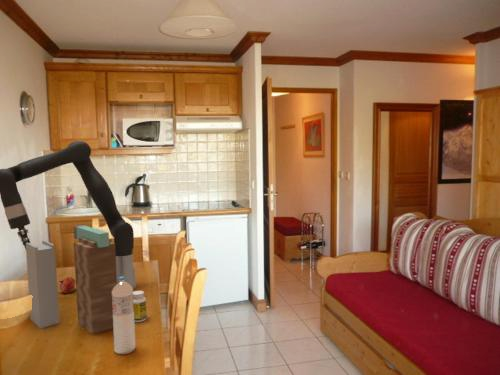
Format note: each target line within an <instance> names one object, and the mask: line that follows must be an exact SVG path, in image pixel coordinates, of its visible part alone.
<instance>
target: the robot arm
mask: <svg viewBox="0 0 500 375" xmlns="http://www.w3.org/2000/svg"><path fill="white" fill-rule="evenodd" d="M91 153H92V149H91V146H90V145H89V144H88V143H87V142H85V141H81V140H76V141H72V142H70V143H68V145H67V146H66V147H64V148H63V149H61V150H57V151H55V152H52V153H48V154H44V155H41V156H37V157H34V158H30V159H27V160H25V161H23V162H20V163H18V164H16V165H13V166H10V167H7V168H0V202H1V204H2V206H3V209H4V214H5V217H6V219H7V220H6V221H7V223H8V226H9V228H10V230H15V229H18V232H17V236H18V237H19V240H20V241H21V242H20V243H22V246H23V247H24V248H25V250H26V243H30V244H31V241H30V240H31V238H30V235H29V234H30V233H29V229H26V227H25V226H29V225H30V224H31V221H30V218H29V216H28V212H27V209H26V207H25V204H24V202H23V200H22V197H21V194H20V192H19V190H18V185H17V183H19V182H21V181H23V180H26V179H29V178H32V177H36V176H38V175H41V174H43V173H47V172H48V171H50V170H51V171H52V170H54V169H56V168H59V167H61V166H64V165H68V164H69V165H70V164H71V163H72V164H73V166H74V168H76V171H77V172H78V173H79V175H80V178H81V179H82V182H83V184H84V187H85V188H86V190H87V192H88V195H90V198H91V200H92V201H93V202H94V204H95V206H96V208H97V209H98V211H99V212H100V214H101V215H102V217H103V218H104V221H105V223H106V225H107V227H108V231H109V232H110V235H111V236H112V237H113V243H114V244H115V252H116V273H117V283H118V282H119V277H121V276H124V277H125V280H124V281H126V282H127V283H129V284H130V285H131V286H132V288H133V290H135V289H136V288H137V283H136V282H137V281H136V269H135V268H134V257H133V256H134V252H133V251H134V244H135V243H134V242H135V241H134V239H135V238H134V237H135V236H134V228H133V225H132V224H130V223H129V222H127V221H125V219H124V218H123V217H122V215H121V213H120V211H119V209H118V207H117V204H116V200H115V197H114V196H115V195H114V194H113V192H112V189H111V188H110V186H109V184H108V182H107V181H106V179H105V178H104V177H103V176H102V175H101V173H100V172H99V170H97V169H96V167H95V166H94V164H93V162H92V160H91V158H90V157H91Z"/></svg>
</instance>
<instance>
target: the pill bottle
mask: <svg viewBox="0 0 500 375" xmlns="http://www.w3.org/2000/svg"><path fill="white" fill-rule="evenodd" d="M133 309H134V323H141V322H145V321H146V320H147V317H148V315H147V298H146V297H145V292H144V291H143V290H135V291H134V290H133Z"/></svg>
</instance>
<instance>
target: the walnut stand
mask: <svg viewBox="0 0 500 375" xmlns="http://www.w3.org/2000/svg"><path fill="white" fill-rule="evenodd" d="M73 251H74V252H73V253H74V254H73V255H74V269H75V271H74V272H75V290H76V291H75V292H76V307H77V308H76V309H77V322H78V325H79V326H81V327H82V328H84V329H85V330H86V331H88V332H89V334H91V335H97V334H100V333H103V332H106V331H109V330H113V306H112V294H111V291H112V289H113V287H114V286H115V285H116V284H117V273H116V252H115V244H114V242H111V239H109V246H107V247H101V248H99V247H96V243H95V242H93V241H90V240H87V239H84V238H81V237H80V238H79V240H78V241H76V242H73Z"/></svg>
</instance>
